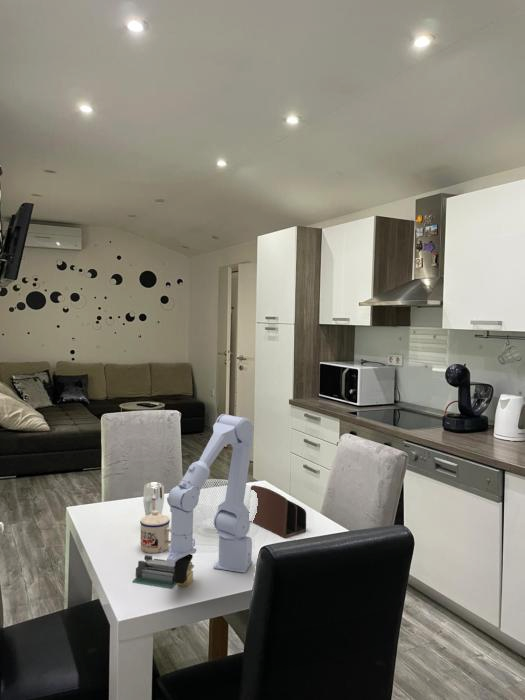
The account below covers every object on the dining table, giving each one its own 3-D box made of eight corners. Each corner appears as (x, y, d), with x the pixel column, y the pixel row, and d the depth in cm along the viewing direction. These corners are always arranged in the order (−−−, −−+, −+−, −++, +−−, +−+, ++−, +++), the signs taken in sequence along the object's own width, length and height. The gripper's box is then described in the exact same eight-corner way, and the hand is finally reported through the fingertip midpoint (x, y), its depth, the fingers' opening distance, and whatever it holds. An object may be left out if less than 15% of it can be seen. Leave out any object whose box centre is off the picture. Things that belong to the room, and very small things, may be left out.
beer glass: (165, 525, 193) (166, 482, 192) (160, 532, 186) (161, 488, 185) (146, 523, 194) (147, 481, 193) (140, 531, 187) (140, 487, 186)
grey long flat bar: (194, 567, 153) (194, 564, 153) (190, 571, 151) (190, 567, 151) (145, 561, 157) (145, 558, 157) (141, 565, 155) (141, 561, 154)
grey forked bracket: (152, 571, 158) (152, 555, 158) (144, 578, 153) (144, 562, 153) (143, 569, 158) (143, 554, 158) (135, 576, 154) (135, 561, 154)
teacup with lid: (133, 550, 172) (134, 513, 171) (151, 539, 180) (151, 504, 179) (165, 558, 167) (166, 519, 166) (182, 547, 175) (183, 510, 174)
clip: (193, 579, 154) (193, 562, 153) (187, 586, 149) (187, 569, 149) (183, 577, 154) (183, 560, 154) (176, 585, 150) (177, 567, 150)
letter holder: (284, 539, 184) (285, 497, 183) (248, 521, 199) (249, 482, 199) (306, 532, 190) (307, 492, 189) (269, 515, 206) (270, 478, 205)
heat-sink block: (187, 570, 158) (187, 560, 158) (171, 588, 148) (171, 577, 148) (150, 565, 161) (150, 555, 161) (132, 582, 151) (132, 571, 151)
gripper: (185, 544, 140) (184, 596, 141) (205, 524, 154) (204, 572, 155) (159, 540, 142) (158, 592, 142) (182, 521, 156) (180, 568, 156)
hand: (180, 581), depth 149 cm, fingers closed
